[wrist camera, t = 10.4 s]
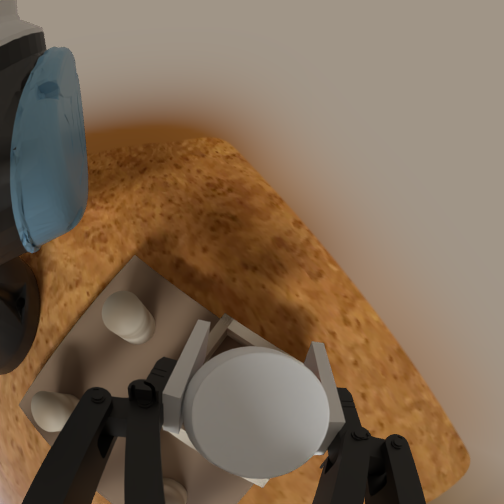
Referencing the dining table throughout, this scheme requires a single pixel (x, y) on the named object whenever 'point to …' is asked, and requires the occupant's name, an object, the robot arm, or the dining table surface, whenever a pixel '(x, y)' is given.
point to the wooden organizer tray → (138, 377)
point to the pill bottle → (255, 412)
